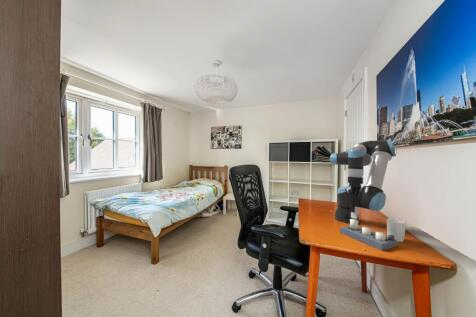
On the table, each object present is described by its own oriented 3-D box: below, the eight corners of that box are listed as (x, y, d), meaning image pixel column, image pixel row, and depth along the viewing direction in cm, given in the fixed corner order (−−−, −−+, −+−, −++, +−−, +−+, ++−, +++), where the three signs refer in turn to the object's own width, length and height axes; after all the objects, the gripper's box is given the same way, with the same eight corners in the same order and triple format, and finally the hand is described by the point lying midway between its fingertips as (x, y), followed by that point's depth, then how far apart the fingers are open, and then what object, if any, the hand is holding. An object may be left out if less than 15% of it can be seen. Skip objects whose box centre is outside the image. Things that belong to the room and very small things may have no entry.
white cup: (405, 239, 102) (406, 221, 102) (404, 244, 97) (405, 224, 97) (387, 234, 108) (387, 217, 108) (385, 239, 102) (385, 220, 102)
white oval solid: (364, 235, 105) (365, 226, 104) (372, 238, 101) (372, 229, 101) (360, 236, 103) (360, 227, 103) (367, 239, 99) (367, 230, 99)
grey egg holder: (354, 230, 114) (354, 219, 114) (396, 246, 94) (396, 233, 94) (340, 232, 110) (340, 222, 110) (381, 250, 89) (381, 237, 89)
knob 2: (378, 240, 98) (378, 231, 98) (387, 244, 94) (387, 234, 94) (373, 242, 97) (373, 232, 96) (382, 245, 93) (382, 235, 93)
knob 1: (352, 227, 111) (353, 218, 111) (359, 229, 107) (359, 220, 107) (348, 227, 109) (348, 219, 109) (354, 230, 106) (355, 221, 106)
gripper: (356, 175, 114) (355, 214, 114) (341, 175, 109) (340, 217, 109) (369, 176, 107) (368, 218, 107) (353, 177, 102) (352, 221, 102)
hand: (354, 217), depth 108 cm, fingers closed
